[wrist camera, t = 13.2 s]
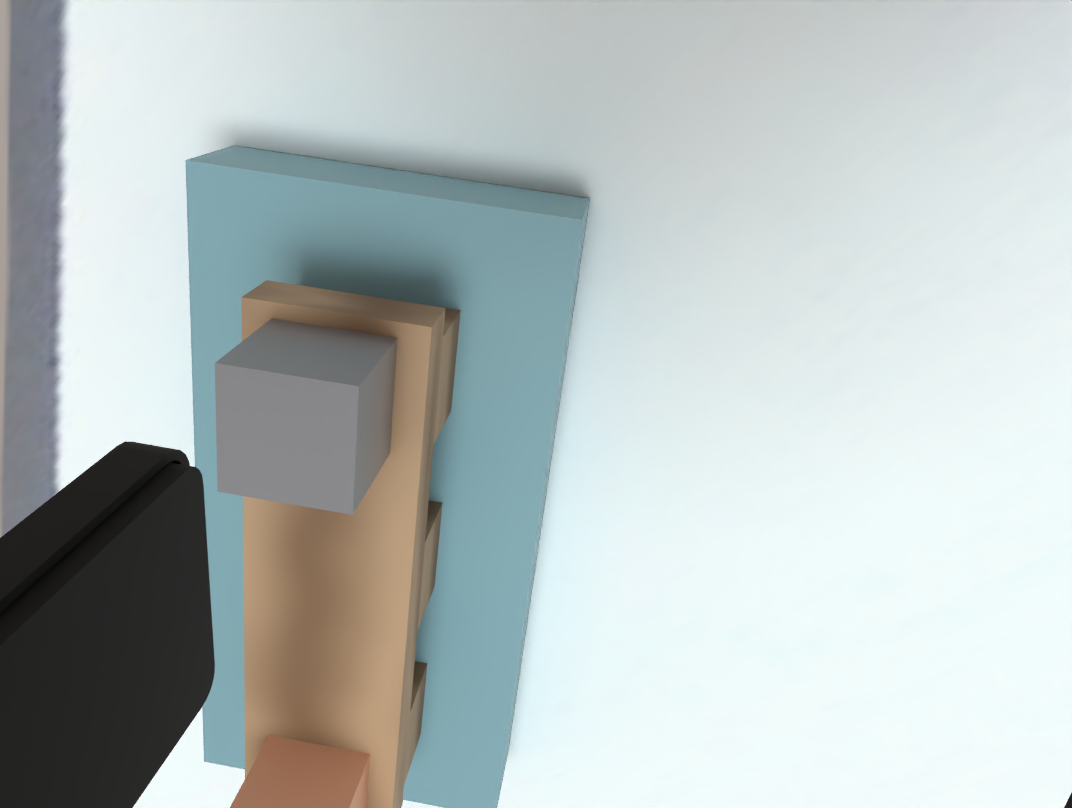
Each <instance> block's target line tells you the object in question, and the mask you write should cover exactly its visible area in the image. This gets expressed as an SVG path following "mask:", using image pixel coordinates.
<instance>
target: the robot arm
mask: <svg viewBox="0 0 1072 808" xmlns="http://www.w3.org/2000/svg"><path fill="white" fill-rule="evenodd" d="M214 674H215V659H214V643H213V628H212V612H211V596H210V580H209V564H208V548H207V533H206V517H205V501H204V485H203V478H202V474H201V472H200V470H199V469H198V468H196V467H192V466H190V465H189V461H188V459H187V457H186V455H185V454H184V453H183V452H182V451H180V450H176V449H170V448H164V447H159V446H153V445H147V444H142V443H136V442H124V443H122V444H120V445H118V446H117V447H115V448H114V449H113V450H112V451H110V452H109V453H108V454H107V455H105V456H104V457H103V458H101V459H100V460H99V461H98V462H96V463H95V464H94V465H93V466H91V467H90V468H89V469H87V470H86V471H85V472H84V473H82V474H81V475H80V476H79V477H77V478H76V479H75V480H73V481H72V482H71V483H70V484H68V485H67V486H66V487H65V488H63V489H62V490H61V491H59V492H58V493H57V494H56V495H54V496H53V497H52V498H51V499H49V500H48V501H47V502H45V503H44V504H43V505H42V506H40V507H39V508H38V509H37V510H35V511H34V512H33V513H32V514H30V515H29V516H28V517H26V518H25V519H24V520H23V521H21V522H20V523H19V524H18V525H16V526H15V527H14V528H12V529H11V530H10V531H9V532H7V533H6V534H5V535H4V536H2V537H1V538H0V808H132V807H133V806H134V805H135V803H136V802H137V800H138V799H139V797H140V796H141V794H142V793H143V792H144V790H145V789H146V787H147V786H148V784H149V783H150V781H151V780H152V778H153V777H154V776H155V774H156V773H157V771H158V770H159V768H160V767H161V765H162V764H163V763H164V761H165V760H166V758H167V757H168V755H169V754H170V752H171V751H172V750H173V748H174V747H175V745H176V744H177V742H178V741H179V739H180V738H181V737H182V735H183V734H184V732H185V731H186V729H187V728H188V726H189V725H190V723H191V722H192V721H193V719H194V718H195V716H196V715H197V713H198V712H199V710H200V709H201V708H202V706H203V705H204V703H205V701H206V699H207V697H208V695H209V693H210V690H211V687H212V684H213V680H214ZM1064 808H1072V793H1071V795H1070V797H1069V799H1068V801H1067V803H1066V805H1065V807H1064Z"/></svg>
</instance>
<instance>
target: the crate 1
mask: <svg viewBox="0 0 1072 808" xmlns="http://www.w3.org/2000/svg"><path fill="white" fill-rule="evenodd" d="M397 340H398V338H393V337H387V336H381V335H374V334H368V333H362V332H355V331H349V330H343V329H337V328H330V327H324V326H318V325H311V324H305V323H299V322H292V321H286V320H280V319H274V318H271V319H270V320H269V321H268V322H266V323H265V324H264V325H262V326H261V327H260V328H259V329H257V330H256V331H255V332H254V333H252V334H251V335H250V336H248V337H247V338H246V339H245V340H243V341H242V342H241V343H240V344H238V345H237V346H236V347H234V348H233V349H232V350H231V351H229V352H228V353H227V354H225V355H224V356H223V357H222V358H220V359H219V360H218V361H217V362H215V399H216V446H217V492H222V493H228V494H234V495H240V496H245V497H251V498H257V499H263V500H269V501H275V502H280V503H286V504H292V505H298V506H304V507H310V508H315V509H321V510H327V511H333V512H339V513H345V514H350V515H353V514H354V512H355V511H356V509H357V507H358V506H359V504H360V502H361V501H362V499H363V497H364V496H365V494H366V492H367V491H368V489H369V487H370V486H371V484H372V482H373V481H374V479H375V478H376V476H377V474H378V473H379V471H380V469H381V468H382V466H383V464H384V463H385V461H386V459H387V458H388V456H389V454H390V448H391V432H392V417H393V402H394V386H395V371H396V356H397Z"/></svg>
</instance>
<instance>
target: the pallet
mask: <svg viewBox="0 0 1072 808" xmlns="http://www.w3.org/2000/svg"><path fill="white" fill-rule="evenodd" d="M460 312H461V310H456V309H450V308H443V307H437V306H430V305H424V304H418V303H411V302H405V301H398V300H392V299H386V298H379V297H373V296H367V295H360V294H354V293H347V292H341V291H335V290H328V289H322V288H316V287H309V286H303V285H294V284H288V283H282V282H275V281H269V280H266V281H265V282H263V283H262V284H260V285H259V286H257V287H256V288H254V289H253V290H251V291H250V292H248V293H247V294H245V295H244V296H242V297H241V313H242V341H243V340H245V339H246V338H247V337H248V336H250V335H251V334H252V333H254V332H255V331H256V330H257V329H259V328H260V327H261V326H262V325H264V324H265V323H266V322H268V321H269V320H270V319H271V318H274V319H280V320H286V321H292V322H299V323H305V324H311V325H318V326H324V327H330V328H337V329H343V330H349V331H355V332H362V333H368V334H374V335H381V336H387V337H393V338H398V340H397V356H396V371H395V386H394V402H393V417H392V432H391V448H390V454H389V456H388V458H387V459H386V461H385V463H384V464H383V466H382V468H381V469H380V471H379V473H378V474H377V476H376V478H375V479H374V481H373V482H372V484H371V486H370V487H369V489H368V491H367V492H366V494H365V496H364V497H363V499H362V501H361V502H360V504H359V506H358V507H357V509H356V511H355V512H354V514H353V515H350V514H345V513H339V512H333V511H327V510H321V509H315V508H310V507H304V506H298V505H292V504H286V503H280V502H275V501H269V500H263V499H257V498H251V497H245V496H243V561H244V686H245V779H246V777H247V775H248V773H249V771H250V770H251V768H252V766H253V764H254V762H255V760H256V758H257V757H258V755H259V753H260V751H261V749H262V747H263V745H264V743H265V742H266V740H267V738H268V736H269V735H271V736H277V737H282V738H287V739H293V740H298V741H303V742H308V743H314V744H319V745H324V746H330V747H335V748H340V749H346V750H351V751H356V752H362V753H367V754H370V764H369V779H368V794H367V808H401V806H402V802H403V790H404V784H405V781H406V778H407V775H408V772H409V769H410V766H411V763H412V760H413V756H414V753H415V750H416V747H417V744H418V741H419V738H420V735H421V726H422V716H423V705H424V695H425V684H426V673H427V663H423V662H417V661H415V653H416V641H417V631H418V628H419V626H420V623H421V621H422V618H423V615H424V613H425V610H426V608H427V605H428V602H429V600H430V597H431V595H432V592H433V589H434V587H435V578H436V567H437V556H438V546H439V535H440V525H441V514H442V502H436V501H430V500H429V492H430V480H431V469H432V457H433V446H434V443H435V441H436V439H437V437H438V436H439V434H440V432H441V430H442V428H443V426H444V424H445V422H446V420H447V418H448V416H449V414H450V412H451V408H452V397H453V387H454V376H455V365H456V355H457V344H458V333H459V323H460Z"/></svg>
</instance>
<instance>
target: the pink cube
mask: <svg viewBox="0 0 1072 808" xmlns="http://www.w3.org/2000/svg"><path fill="white" fill-rule="evenodd" d="M369 764H370V754H367V753H362V752H356V751H351V750H346V749H340V748H335V747H330V746H324V745H319V744H314V743H308V742H303V741H298V740H293V739H287V738H282V737H277V736H271V735H269V736H268V738H267V740H266V742H265V743H264V745H263V747H262V749H261V751H260V753H259V755H258V757H257V758H256V760H255V762H254V764H253V766H252V768H251V770H250V771H249V773H248V775H247V777H246V779H245V781H244V783H243V784H242V786H241V788H240V790H239V792H238V794H237V796H236V797H235V799H234V801H233V803H232V805H231V807H230V808H367V794H368V779H369Z"/></svg>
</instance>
